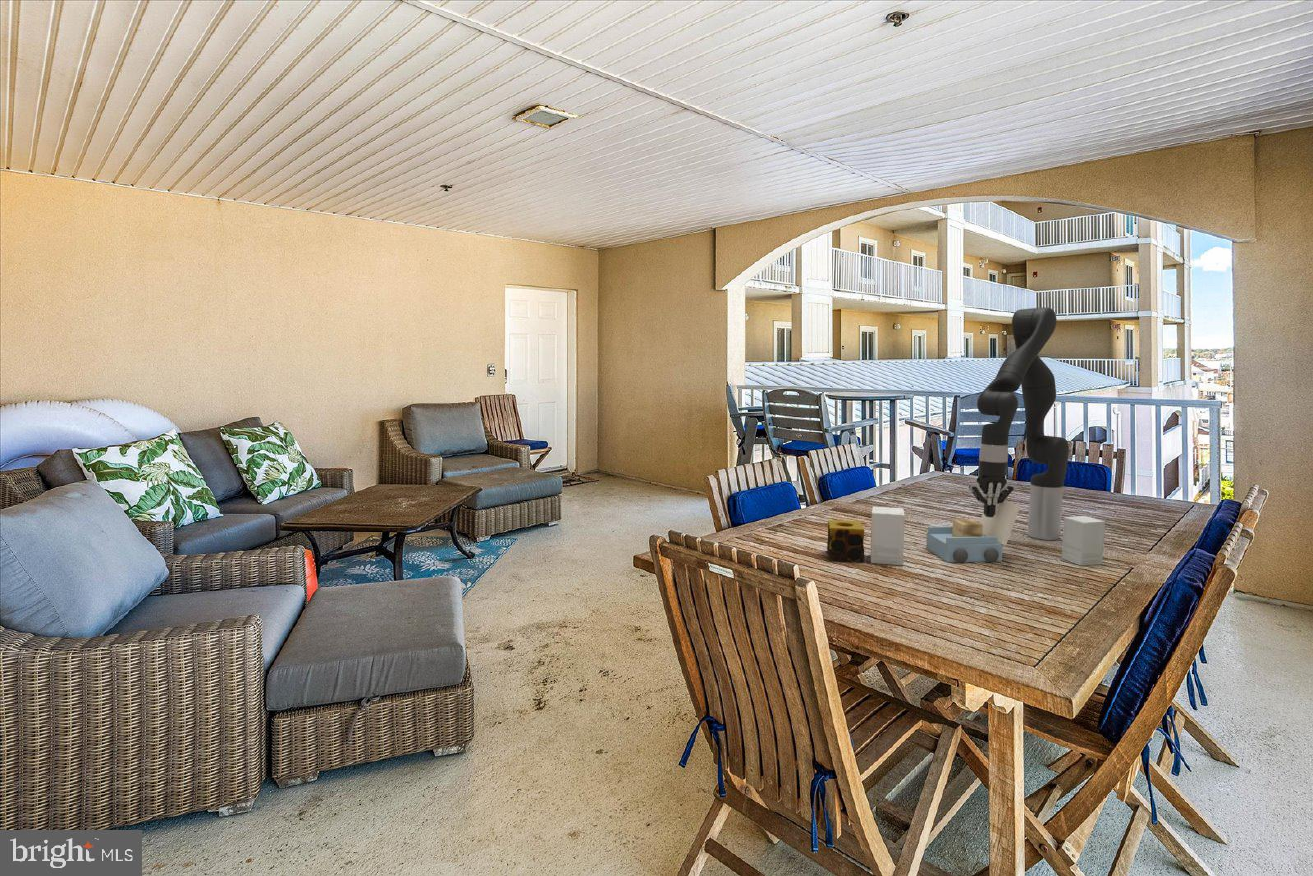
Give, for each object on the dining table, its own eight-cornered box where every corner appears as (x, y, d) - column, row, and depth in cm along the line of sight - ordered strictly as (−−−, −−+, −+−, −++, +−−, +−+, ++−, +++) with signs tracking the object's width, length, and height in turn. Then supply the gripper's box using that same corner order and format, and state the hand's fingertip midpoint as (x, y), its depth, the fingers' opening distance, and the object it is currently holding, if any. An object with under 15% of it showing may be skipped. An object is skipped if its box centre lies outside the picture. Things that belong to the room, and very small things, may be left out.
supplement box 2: (1103, 564, 186) (1106, 521, 185) (1080, 566, 185) (1083, 522, 184) (1082, 557, 194) (1085, 515, 192) (1060, 558, 192) (1063, 516, 191)
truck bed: (975, 546, 205) (976, 524, 204) (1003, 562, 189) (1004, 538, 188) (925, 547, 204) (926, 525, 203) (948, 563, 189) (950, 539, 188)
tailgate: (980, 532, 203) (993, 495, 202) (1006, 545, 189) (1020, 505, 188) (976, 530, 203) (989, 494, 202) (1001, 543, 189) (1015, 504, 188)
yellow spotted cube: (864, 563, 189) (865, 529, 188) (828, 561, 191) (829, 528, 190) (860, 553, 199) (861, 520, 198) (826, 551, 201) (827, 519, 200)
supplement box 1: (902, 557, 195) (904, 507, 193) (903, 566, 186) (905, 514, 184) (870, 554, 197) (872, 505, 196) (869, 563, 189) (871, 512, 187)
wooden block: (971, 535, 199) (972, 519, 198) (981, 540, 193) (982, 524, 193) (952, 535, 199) (952, 519, 198) (961, 541, 193) (962, 524, 192)
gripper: (1007, 457, 197) (1003, 513, 199) (964, 457, 197) (961, 513, 199) (1022, 461, 190) (1018, 519, 192) (978, 461, 189) (973, 519, 191)
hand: (988, 516), depth 195 cm, fingers closed
